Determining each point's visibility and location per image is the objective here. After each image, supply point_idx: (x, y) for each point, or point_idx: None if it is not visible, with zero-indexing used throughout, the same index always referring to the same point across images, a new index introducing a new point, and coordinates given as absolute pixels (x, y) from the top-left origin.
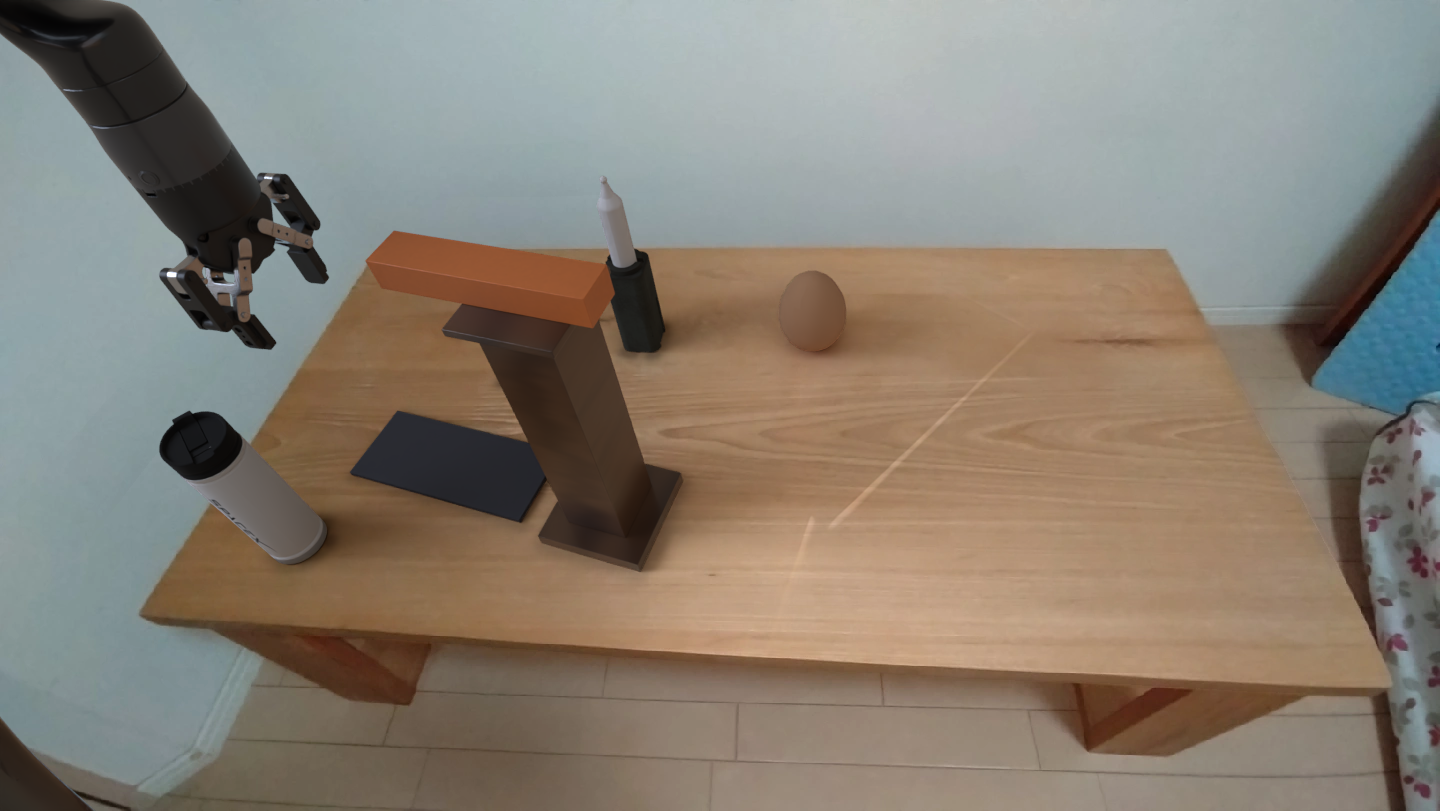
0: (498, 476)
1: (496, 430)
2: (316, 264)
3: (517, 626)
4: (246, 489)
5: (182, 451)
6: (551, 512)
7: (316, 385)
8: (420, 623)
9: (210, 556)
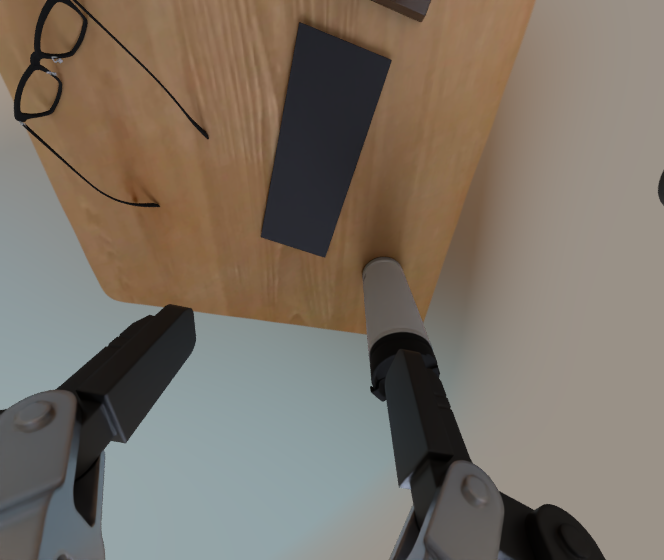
0: (333, 105)
1: (273, 128)
2: (140, 346)
3: (517, 29)
4: (415, 314)
5: None
6: (395, 1)
7: (242, 307)
8: (481, 149)
9: None
